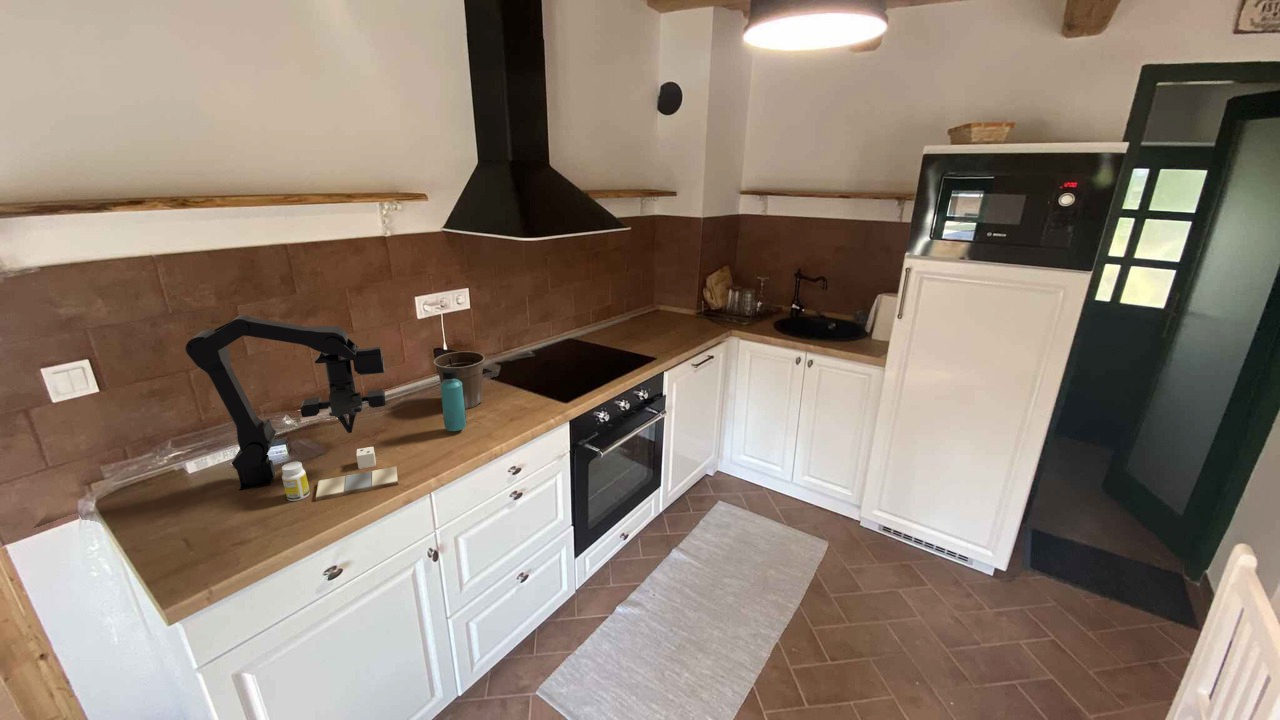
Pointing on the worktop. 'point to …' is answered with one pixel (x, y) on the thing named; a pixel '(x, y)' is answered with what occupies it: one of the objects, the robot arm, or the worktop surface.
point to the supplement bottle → (295, 481)
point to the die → (366, 457)
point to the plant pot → (464, 373)
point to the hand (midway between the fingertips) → (350, 432)
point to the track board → (356, 483)
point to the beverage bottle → (452, 401)
